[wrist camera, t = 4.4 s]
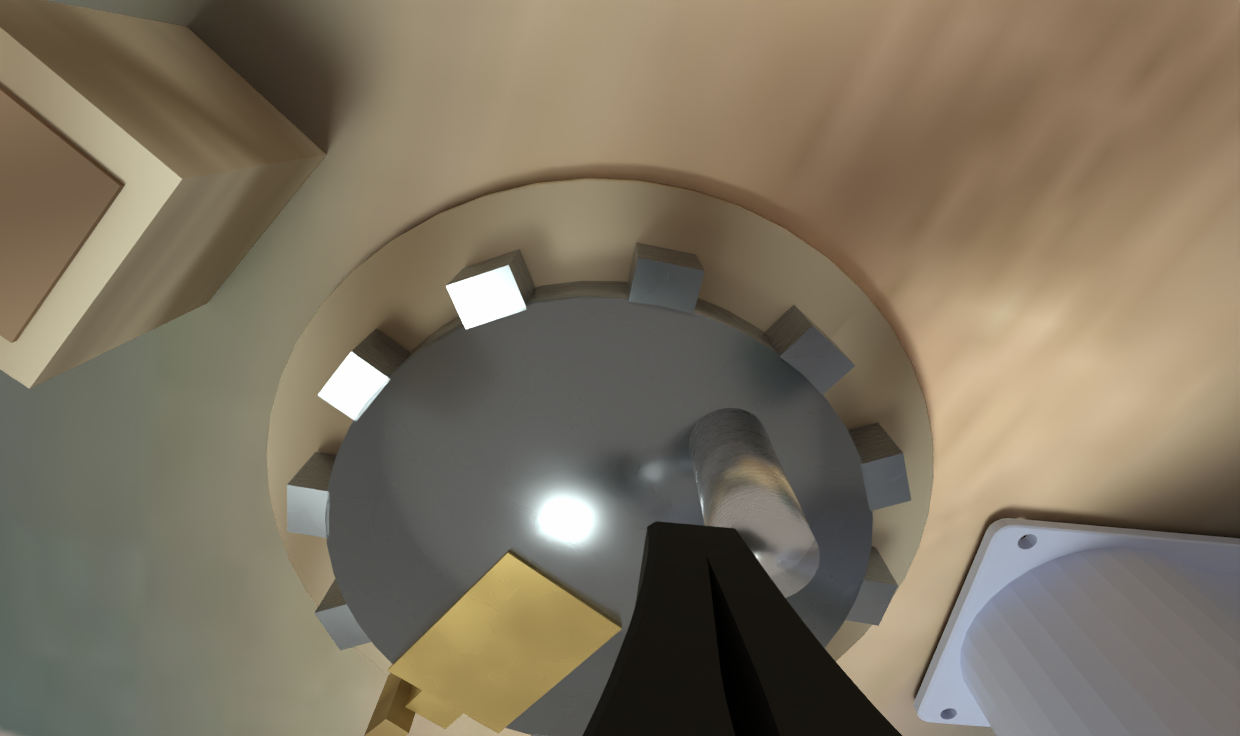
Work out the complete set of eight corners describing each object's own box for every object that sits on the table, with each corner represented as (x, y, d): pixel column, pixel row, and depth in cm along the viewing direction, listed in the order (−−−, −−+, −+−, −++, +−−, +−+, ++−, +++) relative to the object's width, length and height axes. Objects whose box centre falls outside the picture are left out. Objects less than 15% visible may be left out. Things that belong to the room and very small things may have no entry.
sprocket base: (1021, 222, 14) (1102, 246, 12) (834, 741, 21) (861, 821, 19) (235, 135, 14) (153, 141, 11) (309, 704, 21) (269, 783, 18)
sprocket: (1002, 501, 17) (1170, 675, 12) (623, 780, 21) (625, 993, 16) (564, 86, 13) (528, 73, 7) (211, 541, 17) (38, 725, 12)
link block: (327, 154, 14) (178, 180, 9) (208, 302, 15) (24, 391, 10) (188, 27, 13) (-61, -19, 8) (73, 198, 14) (-196, 243, 9)
